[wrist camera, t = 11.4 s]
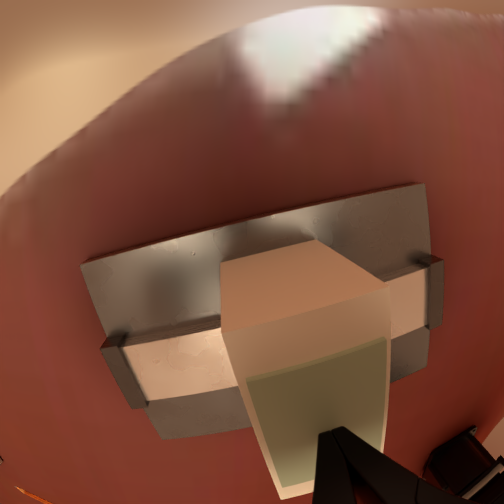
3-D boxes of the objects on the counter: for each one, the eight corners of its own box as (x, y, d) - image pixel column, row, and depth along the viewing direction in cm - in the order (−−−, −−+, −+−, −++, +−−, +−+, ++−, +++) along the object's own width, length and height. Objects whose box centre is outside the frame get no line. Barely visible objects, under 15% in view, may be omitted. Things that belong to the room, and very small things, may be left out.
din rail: (414, 182, 15) (438, 184, 12) (419, 359, 18) (435, 375, 15) (87, 259, 14) (68, 271, 12) (164, 429, 17) (160, 452, 15)
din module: (315, 239, 14) (393, 288, 7) (335, 386, 16) (382, 471, 9) (220, 262, 13) (221, 337, 7) (261, 407, 16) (281, 503, 9)
